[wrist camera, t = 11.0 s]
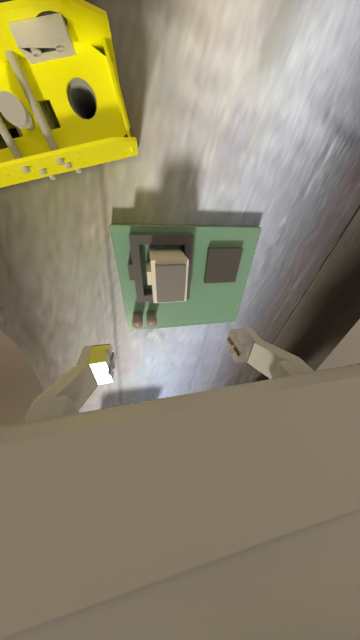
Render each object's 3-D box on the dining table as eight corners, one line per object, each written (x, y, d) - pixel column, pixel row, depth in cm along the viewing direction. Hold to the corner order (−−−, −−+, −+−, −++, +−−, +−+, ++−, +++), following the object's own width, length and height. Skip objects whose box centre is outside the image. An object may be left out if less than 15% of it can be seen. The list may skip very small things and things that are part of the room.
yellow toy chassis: (116, 72, 14) (96, -37, 8) (139, 160, 18) (137, 136, 11) (-68, 112, 14) (-260, 30, 7) (-9, 195, 17) (-102, 191, 11)
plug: (178, 247, 22) (190, 261, 17) (177, 282, 25) (187, 303, 20) (144, 247, 21) (145, 262, 16) (147, 283, 24) (149, 306, 19)
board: (255, 226, 24) (272, 230, 21) (231, 316, 33) (241, 328, 30) (111, 223, 21) (106, 227, 17) (129, 325, 30) (128, 340, 27)
